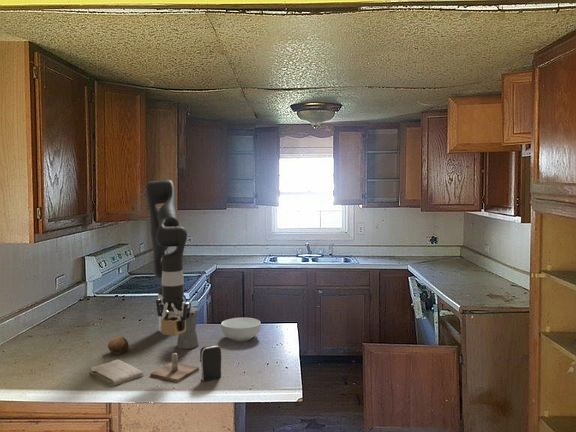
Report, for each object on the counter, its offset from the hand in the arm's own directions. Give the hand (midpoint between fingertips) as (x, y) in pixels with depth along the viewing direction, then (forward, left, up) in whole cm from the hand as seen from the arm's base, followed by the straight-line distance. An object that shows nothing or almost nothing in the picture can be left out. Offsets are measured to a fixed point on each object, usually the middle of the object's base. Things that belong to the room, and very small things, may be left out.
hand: (173, 329), depth 179 cm
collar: (0, 0, -1) cm, 1 cm away
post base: (0, 0, -16) cm, 16 cm away
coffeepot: (-26, -15, -16) cm, 34 cm away
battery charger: (-2, +14, -16) cm, 21 cm away
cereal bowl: (-43, +1, -16) cm, 46 cm away
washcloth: (+10, -18, -17) cm, 27 cm away
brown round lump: (-7, -34, -16) cm, 38 cm away
